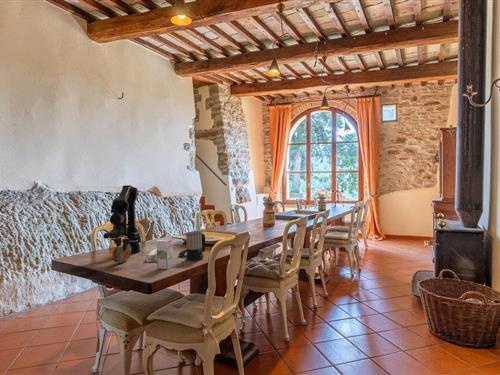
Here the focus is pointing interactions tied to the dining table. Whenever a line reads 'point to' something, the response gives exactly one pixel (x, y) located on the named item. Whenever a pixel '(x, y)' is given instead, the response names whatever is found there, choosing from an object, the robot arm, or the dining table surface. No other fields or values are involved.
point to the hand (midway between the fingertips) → (122, 251)
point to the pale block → (152, 256)
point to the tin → (122, 253)
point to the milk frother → (194, 246)
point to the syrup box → (164, 253)
